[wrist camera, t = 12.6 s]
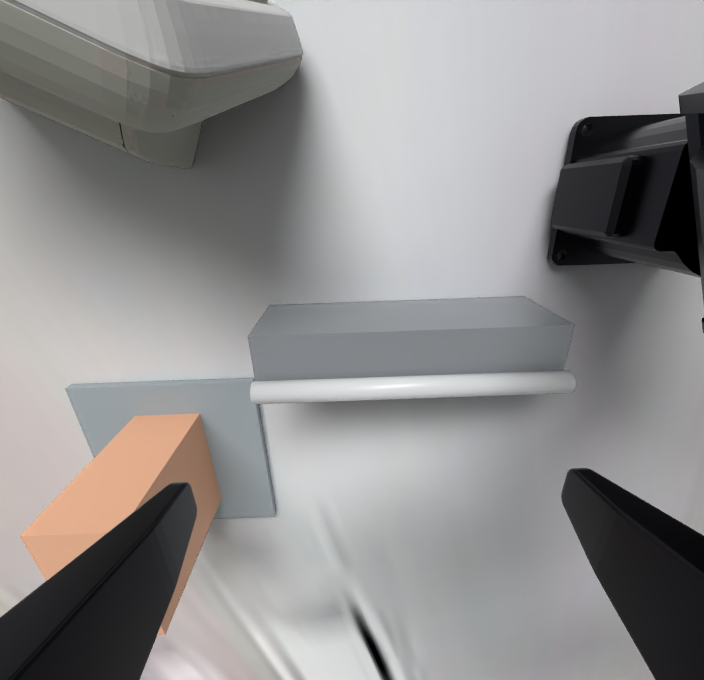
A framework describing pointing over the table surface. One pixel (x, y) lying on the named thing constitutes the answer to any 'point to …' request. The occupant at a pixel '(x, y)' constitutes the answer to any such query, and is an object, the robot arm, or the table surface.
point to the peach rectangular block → (129, 493)
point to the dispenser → (409, 350)
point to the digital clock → (143, 66)
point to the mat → (218, 421)
